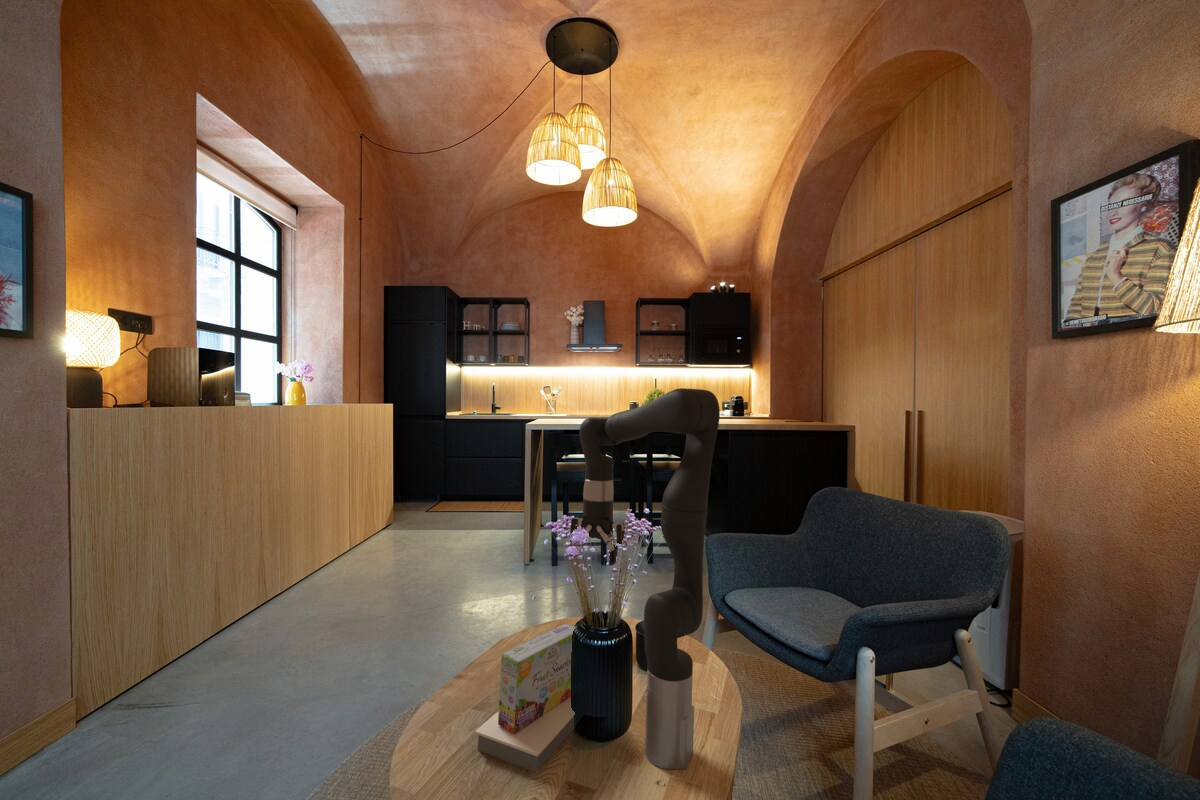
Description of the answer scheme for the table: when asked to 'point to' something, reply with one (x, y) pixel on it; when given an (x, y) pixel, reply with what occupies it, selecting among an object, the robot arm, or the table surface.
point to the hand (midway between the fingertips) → (596, 562)
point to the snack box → (535, 678)
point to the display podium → (528, 737)
